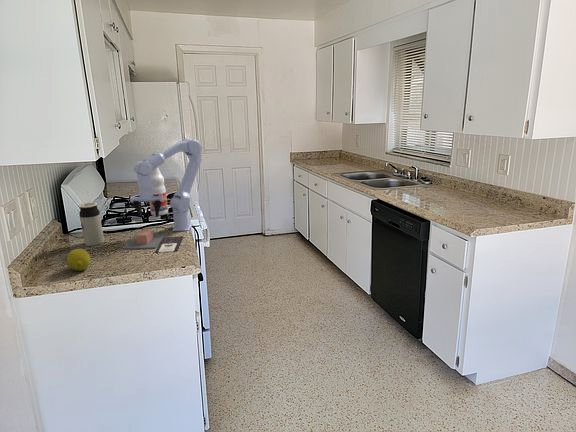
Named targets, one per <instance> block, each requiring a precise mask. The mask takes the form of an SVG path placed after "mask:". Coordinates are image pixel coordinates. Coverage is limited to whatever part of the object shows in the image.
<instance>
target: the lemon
mask: <svg viewBox="0 0 576 432" xmlns="http://www.w3.org/2000/svg"><path fill="white" fill-rule="evenodd" d="M66 263H67V266H68V267H69V268H70V270H73V271H76V272H77V271H78V272H79V271H80V272H81V271H85V270H86V269H88V268H89V266H90V264H91V256H90V254H89V253H88V251H86V250H85V249H82V248H75V249H73V250H71V251H70V252H69V253H68V254H67V257H66Z"/></svg>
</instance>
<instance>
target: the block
mask: <svg viewBox="0 0 576 432" xmlns="http://www.w3.org/2000/svg"><path fill="white" fill-rule="evenodd" d="M153 234H154V233H153V229H141V230H140V231H139V232H138V233H137V234H136V235H135V236H136V240H137V244H148V243H149V242H150V241H151V240H152V239H153Z"/></svg>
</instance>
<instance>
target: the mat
mask: <svg viewBox="0 0 576 432" xmlns="http://www.w3.org/2000/svg"><path fill="white" fill-rule="evenodd" d="M167 235H168V233H153V239H152V240H151V241H150V242H149V243H148V244H137V240H136V235H135V236H134V237H132V238H131V240H129V241H128V242H127V243H126V244H125V245H124V246H123V247H122V248H121V249H122V250H149V249H151V250H152V249H155V250H156V249H157V248H158V246H159V244H160V242H161V240H162V239H163V238H164V237H168V236H167Z"/></svg>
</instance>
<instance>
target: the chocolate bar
mask: <svg viewBox="0 0 576 432" xmlns="http://www.w3.org/2000/svg"><path fill="white" fill-rule="evenodd" d="M183 239H184V236H182V235H181V236H178V235H177V236H166V237H164V238H163V239H162V240H161V242H160V244H159V245H158V246H157V247H156V248H155V251H154V252H155V254H160V253H175V252H178V251H179V249H180V247H181V244H182V242H183Z"/></svg>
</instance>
